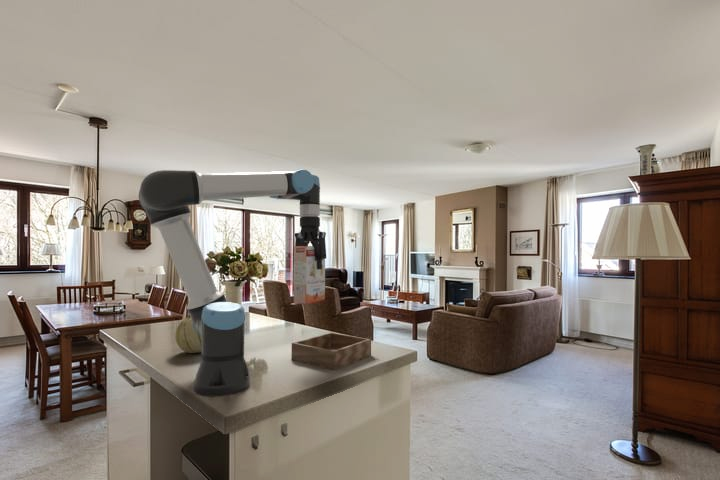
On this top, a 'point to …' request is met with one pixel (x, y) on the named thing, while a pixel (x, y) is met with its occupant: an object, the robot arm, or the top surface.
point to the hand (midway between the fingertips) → (310, 277)
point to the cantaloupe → (188, 337)
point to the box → (331, 350)
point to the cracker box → (307, 277)
